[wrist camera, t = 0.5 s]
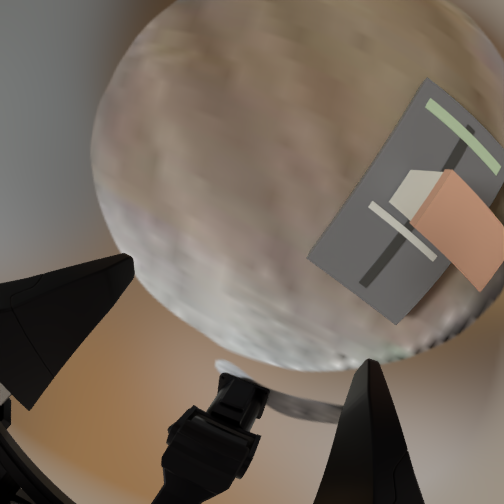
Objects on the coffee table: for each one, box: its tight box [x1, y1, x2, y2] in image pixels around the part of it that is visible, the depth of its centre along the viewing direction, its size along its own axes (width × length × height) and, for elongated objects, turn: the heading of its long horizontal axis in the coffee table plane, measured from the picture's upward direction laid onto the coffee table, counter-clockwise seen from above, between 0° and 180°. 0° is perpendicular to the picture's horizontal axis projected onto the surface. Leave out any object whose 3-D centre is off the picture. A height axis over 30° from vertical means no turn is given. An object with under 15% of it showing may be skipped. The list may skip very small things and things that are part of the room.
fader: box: [389, 169, 504, 292], centre depth 13 cm, size 3×5×9 cm, turn 59°
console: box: [307, 78, 504, 325], centre depth 18 cm, size 18×10×2 cm, turn 148°
